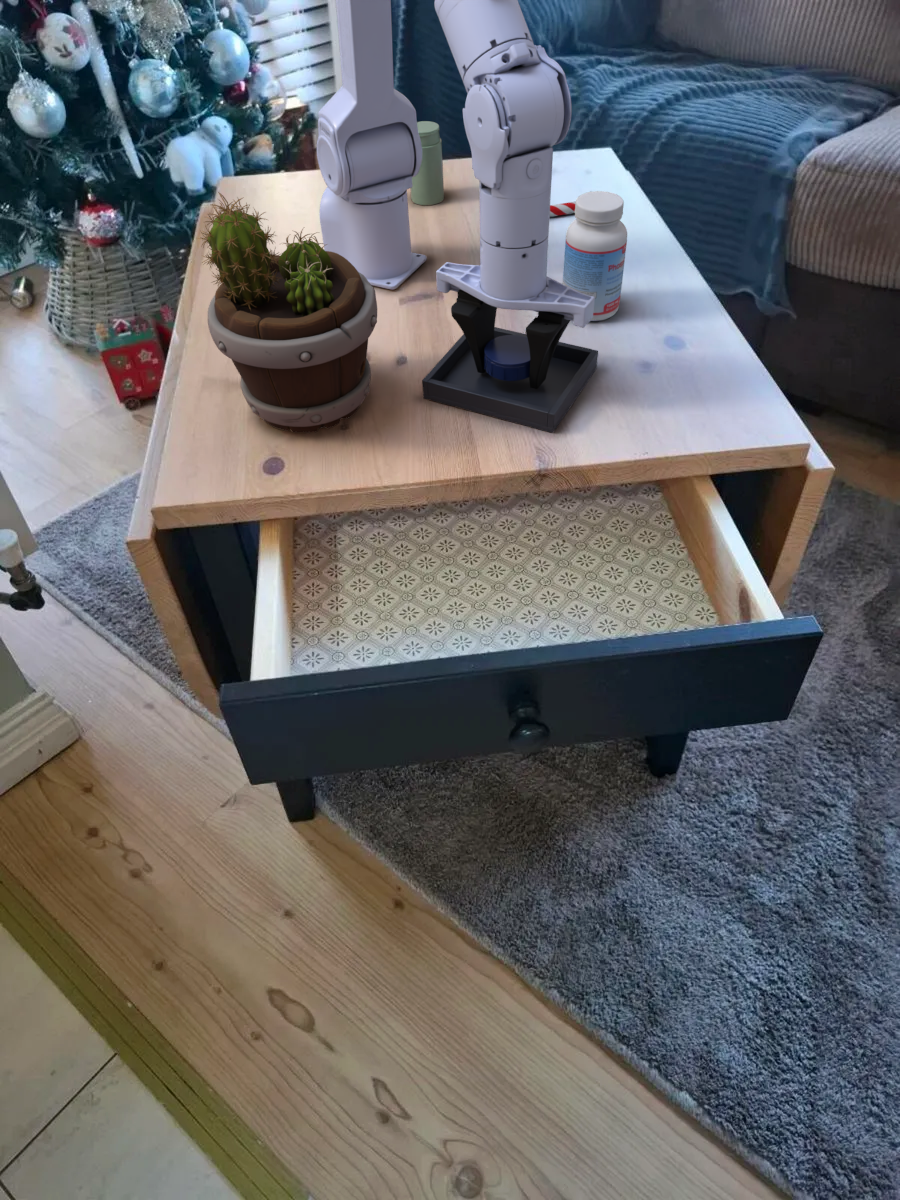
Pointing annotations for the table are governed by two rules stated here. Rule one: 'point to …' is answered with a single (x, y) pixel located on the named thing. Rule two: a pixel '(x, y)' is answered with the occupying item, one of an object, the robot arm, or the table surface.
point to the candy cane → (562, 209)
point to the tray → (511, 385)
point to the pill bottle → (597, 251)
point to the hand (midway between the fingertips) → (511, 375)
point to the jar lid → (507, 358)
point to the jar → (429, 167)
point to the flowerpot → (290, 323)
